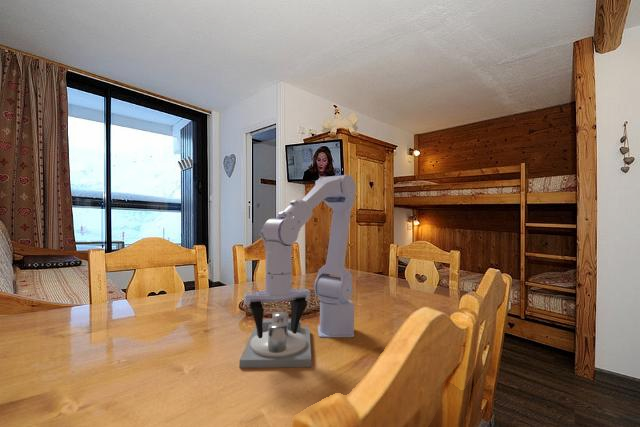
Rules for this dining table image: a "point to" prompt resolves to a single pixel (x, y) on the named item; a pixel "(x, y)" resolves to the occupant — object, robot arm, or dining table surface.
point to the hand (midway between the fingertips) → (277, 334)
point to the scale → (291, 357)
